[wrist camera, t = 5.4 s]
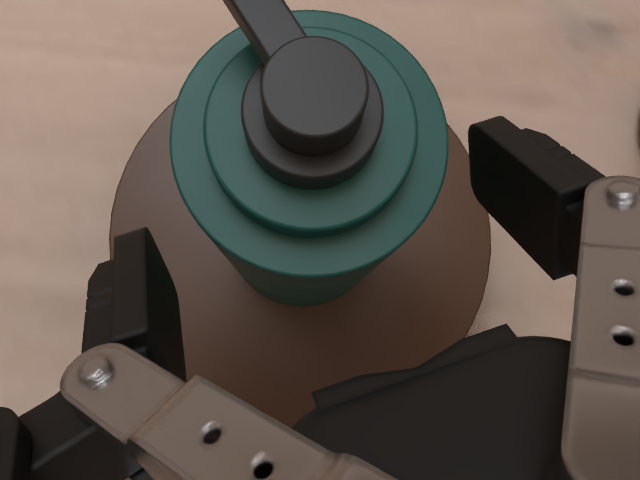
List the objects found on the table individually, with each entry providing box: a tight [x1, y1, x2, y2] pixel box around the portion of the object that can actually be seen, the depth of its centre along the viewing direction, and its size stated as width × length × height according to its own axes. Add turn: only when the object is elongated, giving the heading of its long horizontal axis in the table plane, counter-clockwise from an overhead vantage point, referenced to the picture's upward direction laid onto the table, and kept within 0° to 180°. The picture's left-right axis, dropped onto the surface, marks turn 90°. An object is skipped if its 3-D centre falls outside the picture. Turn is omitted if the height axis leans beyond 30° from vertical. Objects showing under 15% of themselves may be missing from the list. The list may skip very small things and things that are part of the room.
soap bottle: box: [109, 0, 491, 428], centre depth 17 cm, size 15×15×14 cm
